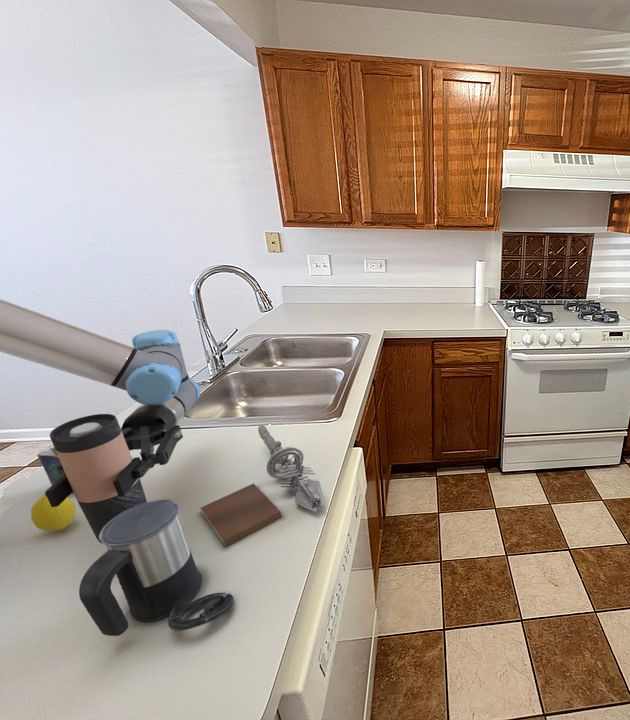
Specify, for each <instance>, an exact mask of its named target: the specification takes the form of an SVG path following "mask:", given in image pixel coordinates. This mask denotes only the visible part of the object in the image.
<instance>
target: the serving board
mask: <svg viewBox="0 0 630 720" xmlns="http://www.w3.org/2000/svg"><path fill="white" fill-rule="evenodd" d="M200 510H201V513H202V515H203V517H204V518H205V520H206V521H207V522H208V524H209V526H210V527H211V528H212V530H213V531H214V533H215V535H216V536H217V537H218V539H219V540H220V541H221V543H222V545H223V546H224V547H225V548H227V547H229V546H231V545H232V544H235V543H236V542H238V541H240V540H241V539H244V538H246V537H247V536H249V535H251V534H253V533H255V532H256V531H258V530H260V529H262V528H264V527H266V526H268V525H269V524H271V523H273V522H276V521H277V520H279V519H281V518H282V513H281V510H279V508H278V507H277V506H276V505H275V504H274V502H272V501H271V500H270V499H269V498H268V496H267V495H265V494H264V492H262V491H261V489H260V488H259V487H258V486H257V485H256V484H255V483H254V482H253V483H251V484H249V485H246V486H245V487H242V488H241V489H238V490H236V491H234V492H232V493H229V494H227V495H225V496H223V497H221V498H219V499H216V500H214V501H212V502H210V503H208V504H205V505H203V506H201V507H200Z"/></svg>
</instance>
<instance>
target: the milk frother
mask: <svg viewBox="0 0 630 720" xmlns="http://www.w3.org/2000/svg"><path fill="white" fill-rule="evenodd" d="M179 512H180V506H179V504H178V503H177V502H175V501H173V500H171V499H157V500H150V501H147V502H146V503H143V504H140V505H137V506H134V507H132V508H130V509H128V510H126V511H124V512H122V513H121V514H119V515H118V516H116V517H114V518H113V519H112V520H110V521H109V522H108V523H107V524H106V525H105V526H104V527H103V529H102V530H101V532H100V535H99V540H100V541H101V542H102V543H103V544H102V543H101V544H102V545H105V547H106V549H107V551H106V552H104V553H103V554H102V555H101V556H100V557H99V558H97V559H96V560H95V561H94V562H93V563H92V564H91V565H90V566H89V568H88V569H87V570H86V571H85V573H84V575H83V577H82V578H81V581H80V584H79V589H78V596H79V599H80V602H81V604H82V605H83V606H84V609H86V611H87V613H88V614H89V616H90V618H91V619H92V620H93V622H94V623H95V625H96V626H97V628H98V630H99V631H100V632H101V634H102V635H104V636H108V637H119V636H121V635H123V634H124V633H125V632H126V631H127V630H128V628H129V621H128V620H127V618H126V616H125V613H124V612H123V610H122V608H121V607H120V604H119V602H118V600H117V598H116V597H115V595H114V593H113V591H112V589H111V587H112V583H113V580H114V578H115V576H116V577H117V580H118V582H119V585H120V588H121V590H122V592H123V594H124V597H125V600H126V603H127V605H128V608H129V613H130V616H131V618H133V619H134V620H136V621H139V622H152V621H153V622H154V621H158V620H159V619H163V618H165V617H168V620H167V626H168V628H169V629H170V630H171V631H172V630H173V631H186V630H191V629H194V628H197V627H201V626H203V625H205V624H208V623H210V622H212V621H214V620H216V619H218V618H220V617H221V616H223V615H224V614H226V612H228V611H230V609H231V608H232V606H233V605H234V603H235V602H234V601H235V598H234V595H233V594H232V593H229V592H228V590H227V591H224V592H215V593H210V594H209V593H208V594H207V595H203V596H202V597H199V598H197V599H195V600H193V601H191V600H192V599H194V597H195V596H196V595H197V594H198V592H199V591H200V589H201V587H202V584H203V575H202V573H201V572H200V571H199V570H198V567H197V565H196V562H195V560H194V557H193V554H192V550H191V549H190V544H189V542H188V539H187V536H186V533H185V530H184V527H183V524H182V521H181V518H180V514H179ZM190 601H191V602H190ZM204 604H207V605H206V606H205V607H204V608H203V611H201V612H200V613H199V615H198V617H195V618H191V619H190V618H189V619H182V618H183V617H184V616H185V615H186V614H188V612H190V611H192V610H194V609H196V608H198V607H200V606H202V605H204Z"/></svg>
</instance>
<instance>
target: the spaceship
mask: <svg viewBox="0 0 630 720" xmlns="http://www.w3.org/2000/svg"><path fill="white" fill-rule="evenodd" d="M257 431H258V435H259V437H260V439H261V440H262V442H263V443H264V444H265V446H266V447H267V449H268V450H269V454H270V455H271V456H270V458H269V459H268V461H267V464H266V472H267V474H268V476H269V477H270V478H272V479H276V482H278V484H279V485H280V487H281V488H288V489H290V491H291V492H292V493H293V495H295V498H294V503H295V504H297V505H299V506H301V507H303V508H305V509H307V510H310V511H312V512H317V511H318V510H320V511H322V509H321V506H323V505H324V498H323V497H324V495H323V491H322V487H321V483H320V480H313V479H311V478H309V476H308V475H316V473H315V472H314V471H313V470H312V468H311V467H306V466H305V465H303V463H304V458H305V457H304V452H303V451H302V450H301V449H300V448H298V447H296V446H286V447H283V446H282V442H281V441H280V440H277V441H276V440H275V438H274V437H273V435H271V434H270V431H269V430H268V428H267V427H266V426H265V425H263V424H259V425H258V427H257ZM289 456H291V457H290V458H289ZM277 465H280V466H279V467H277ZM303 475H306V476H303ZM287 478H290V479H287Z"/></svg>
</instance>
